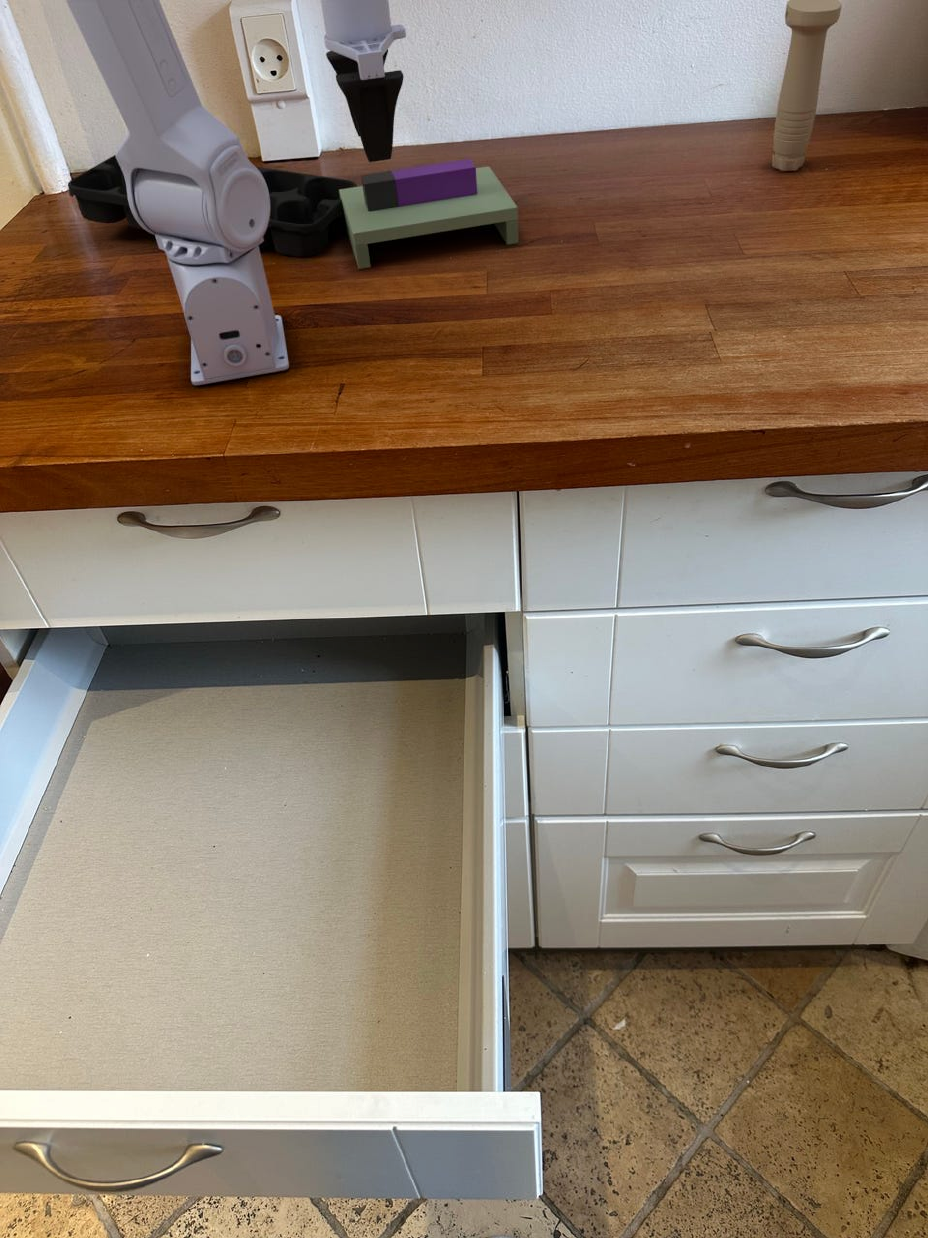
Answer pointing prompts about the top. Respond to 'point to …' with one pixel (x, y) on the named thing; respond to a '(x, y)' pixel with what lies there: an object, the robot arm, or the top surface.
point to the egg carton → (295, 205)
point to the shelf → (429, 216)
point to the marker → (419, 184)
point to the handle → (801, 79)
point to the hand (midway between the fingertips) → (373, 146)
